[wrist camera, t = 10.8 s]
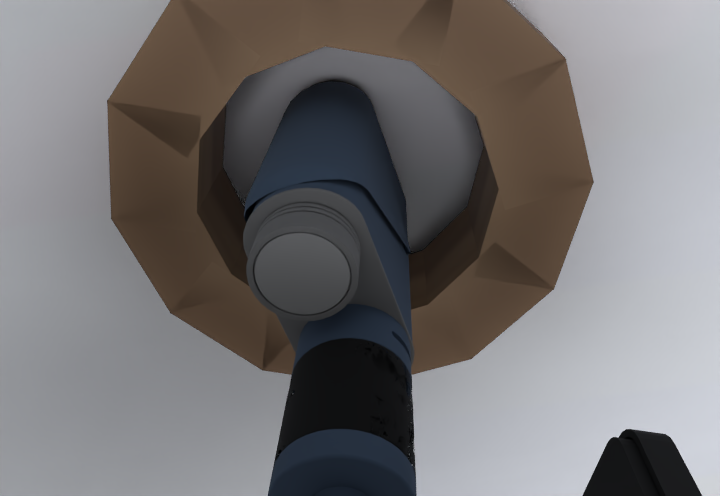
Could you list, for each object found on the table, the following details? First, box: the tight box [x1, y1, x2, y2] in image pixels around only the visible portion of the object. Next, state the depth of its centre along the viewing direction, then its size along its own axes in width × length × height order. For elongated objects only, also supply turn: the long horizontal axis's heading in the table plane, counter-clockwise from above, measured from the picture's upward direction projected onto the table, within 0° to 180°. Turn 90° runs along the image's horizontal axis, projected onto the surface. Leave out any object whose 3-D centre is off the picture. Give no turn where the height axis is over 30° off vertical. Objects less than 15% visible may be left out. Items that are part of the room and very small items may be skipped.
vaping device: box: [243, 81, 416, 496], centre depth 14 cm, size 3×5×12 cm, turn 19°
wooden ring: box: [107, 0, 594, 375], centre depth 18 cm, size 12×12×3 cm
